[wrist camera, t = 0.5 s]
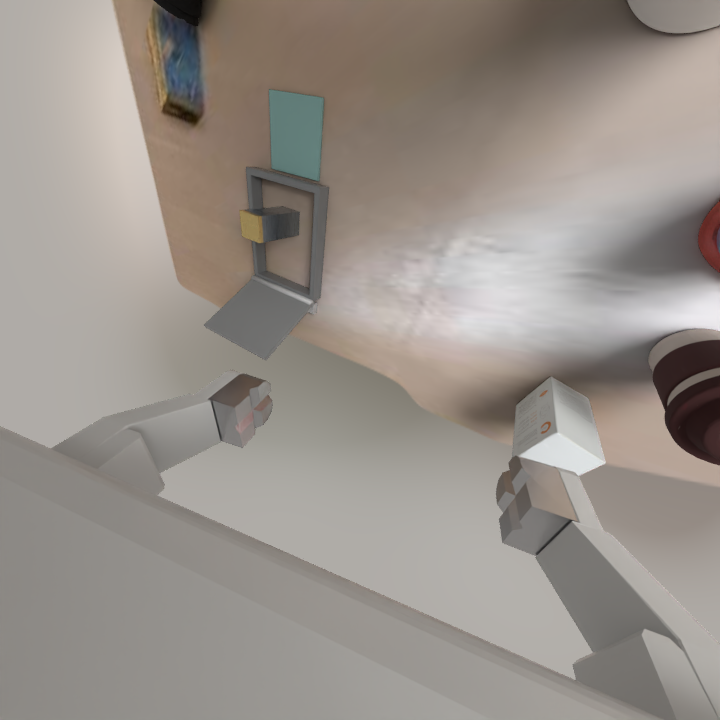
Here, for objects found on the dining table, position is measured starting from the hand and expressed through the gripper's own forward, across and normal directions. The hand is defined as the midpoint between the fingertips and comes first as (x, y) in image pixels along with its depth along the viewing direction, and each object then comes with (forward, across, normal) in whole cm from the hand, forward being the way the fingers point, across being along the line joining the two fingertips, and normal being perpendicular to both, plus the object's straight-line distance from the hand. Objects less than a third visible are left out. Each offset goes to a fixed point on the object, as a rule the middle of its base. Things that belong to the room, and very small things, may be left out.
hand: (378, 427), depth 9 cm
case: (+45, +29, +6) cm, 54 cm away
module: (+44, +29, -1) cm, 53 cm away
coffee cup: (+33, -32, +6) cm, 46 cm away
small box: (+36, -23, +19) cm, 47 cm away
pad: (+43, +26, -13) cm, 52 cm away
